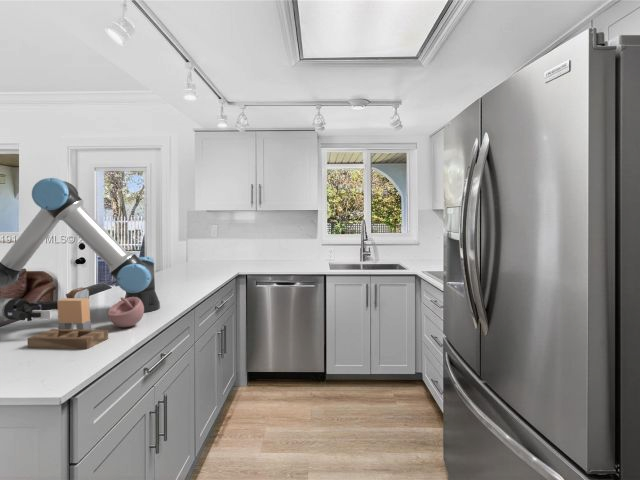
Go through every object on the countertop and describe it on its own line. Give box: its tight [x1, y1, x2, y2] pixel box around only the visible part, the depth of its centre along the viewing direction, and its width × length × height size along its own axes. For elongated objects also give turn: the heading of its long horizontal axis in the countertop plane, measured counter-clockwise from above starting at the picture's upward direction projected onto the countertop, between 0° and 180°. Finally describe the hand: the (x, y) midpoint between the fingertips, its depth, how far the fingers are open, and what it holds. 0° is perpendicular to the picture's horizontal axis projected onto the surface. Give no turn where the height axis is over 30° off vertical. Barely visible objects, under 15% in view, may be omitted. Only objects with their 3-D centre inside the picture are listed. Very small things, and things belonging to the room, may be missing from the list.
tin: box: [66, 287, 90, 299], centre depth 178 cm, size 15×3×8 cm, turn 5°
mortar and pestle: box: [107, 296, 145, 328], centre depth 143 cm, size 12×12×12 cm
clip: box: [56, 297, 92, 330], centre depth 138 cm, size 4×10×12 cm, turn 84°
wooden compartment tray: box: [26, 328, 109, 350], centre depth 125 cm, size 10×20×3 cm, turn 84°
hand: (66, 309), depth 138 cm, fingers open, 13 cm apart
